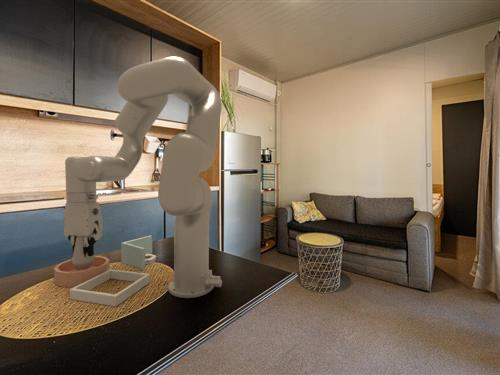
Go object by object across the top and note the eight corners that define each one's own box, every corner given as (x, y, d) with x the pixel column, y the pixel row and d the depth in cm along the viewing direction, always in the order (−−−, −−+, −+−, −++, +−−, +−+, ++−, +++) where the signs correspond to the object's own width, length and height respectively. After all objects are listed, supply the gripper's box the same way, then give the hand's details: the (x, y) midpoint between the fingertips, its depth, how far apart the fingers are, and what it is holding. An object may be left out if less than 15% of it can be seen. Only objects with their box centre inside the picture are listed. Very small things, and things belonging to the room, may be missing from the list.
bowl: (118, 270, 82) (118, 258, 81) (82, 289, 69) (82, 275, 68) (84, 265, 85) (83, 254, 84) (43, 283, 71) (42, 269, 71)
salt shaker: (83, 272, 73) (82, 228, 72) (67, 270, 74) (65, 227, 73) (99, 264, 79) (98, 224, 78) (83, 263, 80) (82, 223, 79)
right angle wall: (142, 271, 83) (142, 249, 82) (121, 263, 89) (121, 242, 88) (171, 260, 93) (171, 240, 92) (150, 254, 99) (150, 235, 99)
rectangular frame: (149, 282, 74) (149, 274, 73) (115, 306, 60) (115, 296, 60) (110, 277, 77) (110, 269, 76) (69, 299, 63) (69, 289, 63)
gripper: (114, 197, 77) (115, 256, 78) (70, 195, 80) (72, 251, 82) (94, 200, 70) (95, 264, 71) (47, 198, 73) (49, 259, 74)
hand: (83, 257), depth 76 cm, fingers closed on salt shaker, 3 cm apart
